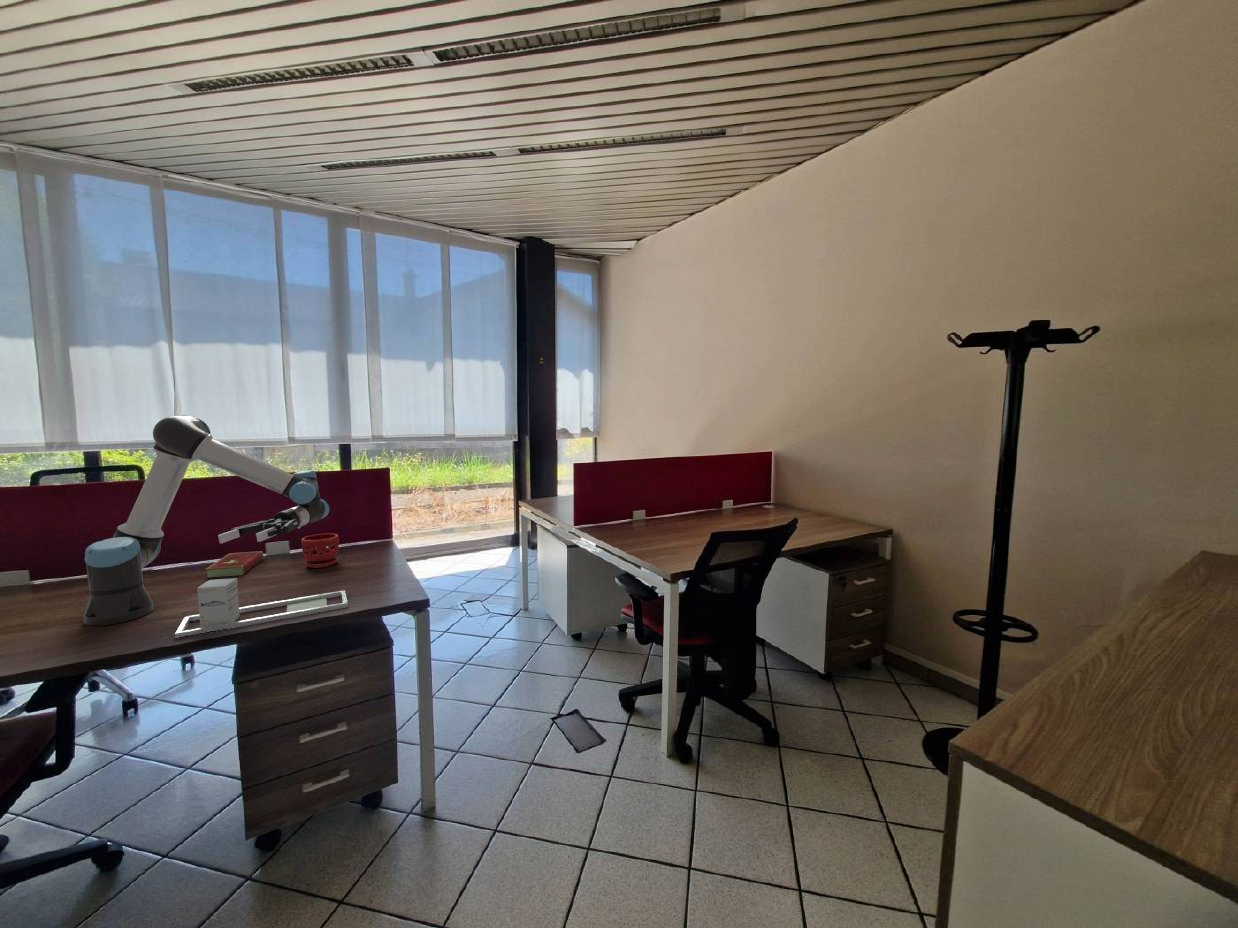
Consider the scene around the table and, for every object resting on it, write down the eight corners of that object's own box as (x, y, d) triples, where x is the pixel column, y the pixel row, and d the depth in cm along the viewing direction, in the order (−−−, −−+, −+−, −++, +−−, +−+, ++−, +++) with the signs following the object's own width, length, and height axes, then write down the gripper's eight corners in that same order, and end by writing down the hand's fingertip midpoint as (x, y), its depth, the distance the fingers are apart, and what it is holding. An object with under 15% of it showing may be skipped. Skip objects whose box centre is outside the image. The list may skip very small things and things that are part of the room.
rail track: (175, 638, 137) (174, 633, 137) (185, 621, 148) (184, 616, 148) (347, 607, 160) (347, 602, 159) (345, 594, 171) (345, 590, 170)
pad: (286, 616, 152) (286, 615, 152) (287, 605, 160) (287, 604, 160) (327, 609, 158) (327, 608, 158) (326, 598, 166) (326, 597, 166)
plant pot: (346, 563, 204) (344, 535, 203) (313, 571, 193) (311, 542, 192) (329, 557, 211) (328, 530, 210) (296, 565, 200) (294, 537, 199)
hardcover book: (263, 560, 209) (262, 550, 208) (243, 576, 189) (243, 565, 188) (229, 562, 205) (228, 552, 204) (206, 579, 185) (205, 568, 185)
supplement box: (199, 629, 143) (195, 587, 142) (212, 618, 150) (209, 579, 149) (229, 626, 145) (225, 585, 143) (241, 616, 152) (237, 577, 151)
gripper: (324, 527, 174) (276, 548, 153) (262, 530, 178) (206, 551, 157) (320, 507, 173) (271, 525, 152) (258, 510, 176) (201, 528, 156)
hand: (238, 538), depth 154 cm, fingers open, 13 cm apart
